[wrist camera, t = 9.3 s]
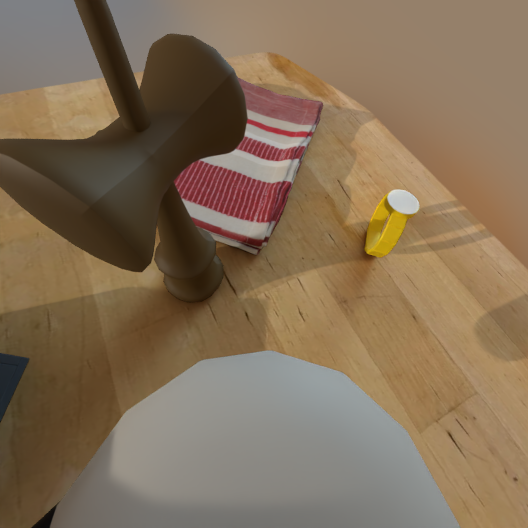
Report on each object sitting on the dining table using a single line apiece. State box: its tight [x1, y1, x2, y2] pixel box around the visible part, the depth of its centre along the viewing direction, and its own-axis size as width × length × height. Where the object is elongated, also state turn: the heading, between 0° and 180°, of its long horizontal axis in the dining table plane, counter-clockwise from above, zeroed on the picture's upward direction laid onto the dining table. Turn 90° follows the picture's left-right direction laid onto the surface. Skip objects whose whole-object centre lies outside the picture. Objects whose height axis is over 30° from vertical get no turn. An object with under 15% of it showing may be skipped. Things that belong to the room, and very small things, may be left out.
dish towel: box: [174, 77, 323, 255], centre depth 30 cm, size 17×23×3 cm
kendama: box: [0, 0, 248, 302], centre depth 15 cm, size 6×10×20 cm, turn 154°
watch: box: [364, 190, 420, 258], centre depth 24 cm, size 6×3×6 cm, turn 162°
